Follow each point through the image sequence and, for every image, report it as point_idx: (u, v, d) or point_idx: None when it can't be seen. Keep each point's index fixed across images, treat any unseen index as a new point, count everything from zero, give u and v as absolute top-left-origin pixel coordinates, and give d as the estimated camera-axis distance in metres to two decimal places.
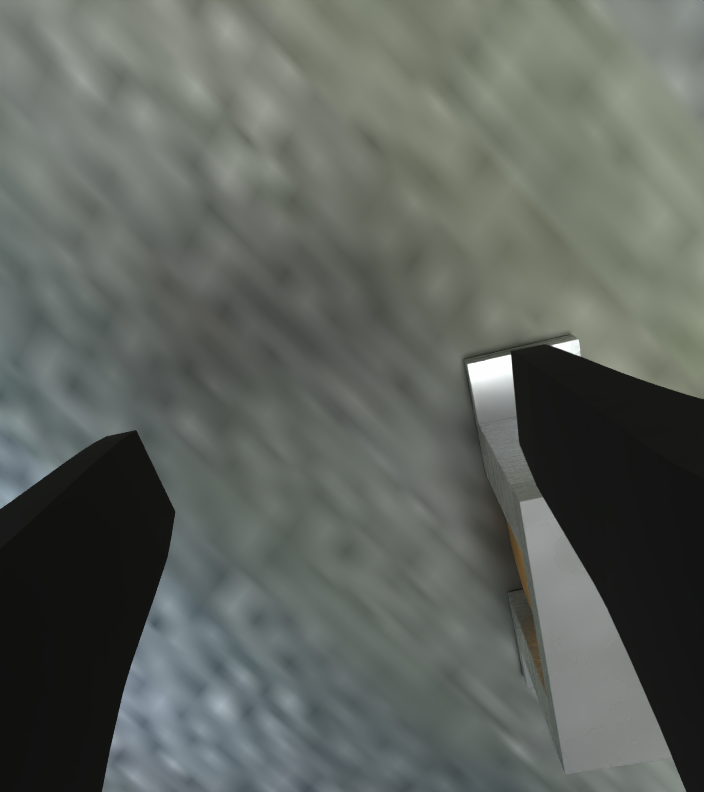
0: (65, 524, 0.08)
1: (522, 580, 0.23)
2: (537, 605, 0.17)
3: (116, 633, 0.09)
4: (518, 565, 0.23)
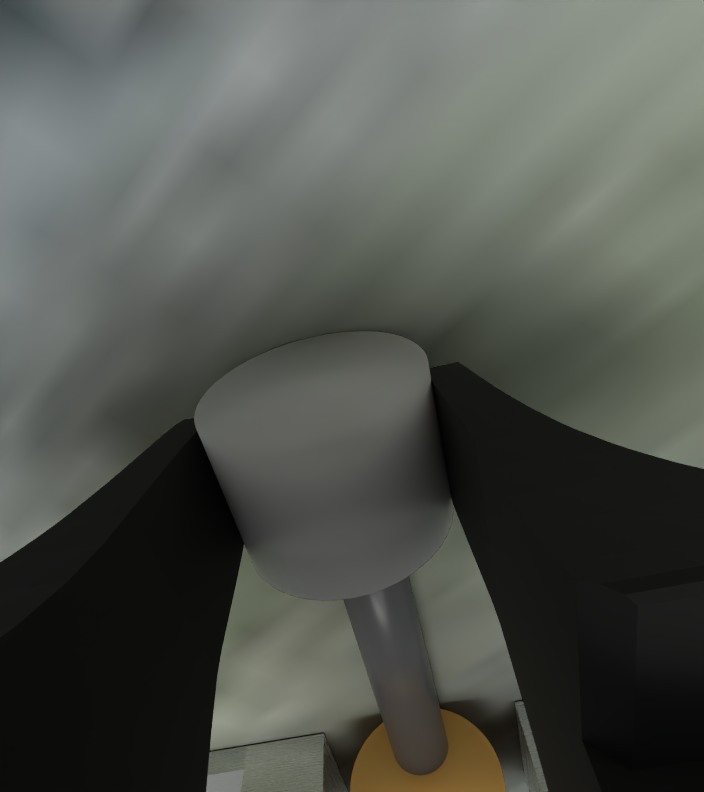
0: (165, 504, 0.08)
1: None
2: None
3: (209, 616, 0.09)
4: None
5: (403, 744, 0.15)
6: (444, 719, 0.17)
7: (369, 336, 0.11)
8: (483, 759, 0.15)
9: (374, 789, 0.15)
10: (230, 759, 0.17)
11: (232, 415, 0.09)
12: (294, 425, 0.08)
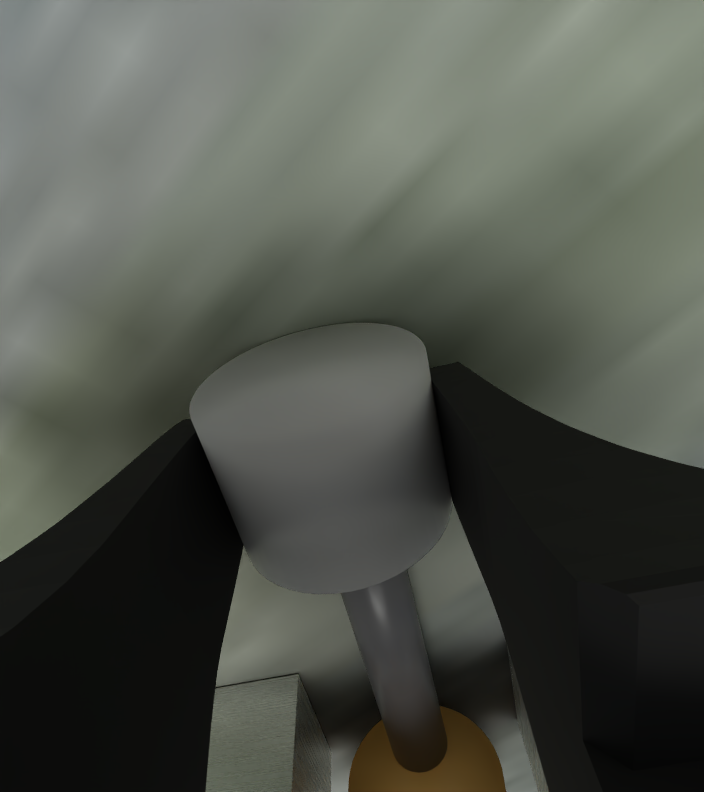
0: (165, 504, 0.08)
1: None
2: None
3: (208, 616, 0.09)
4: None
5: (401, 741, 0.15)
6: (443, 716, 0.16)
7: (367, 328, 0.10)
8: (483, 757, 0.15)
9: (372, 786, 0.15)
10: None
11: (228, 406, 0.09)
12: (290, 415, 0.08)
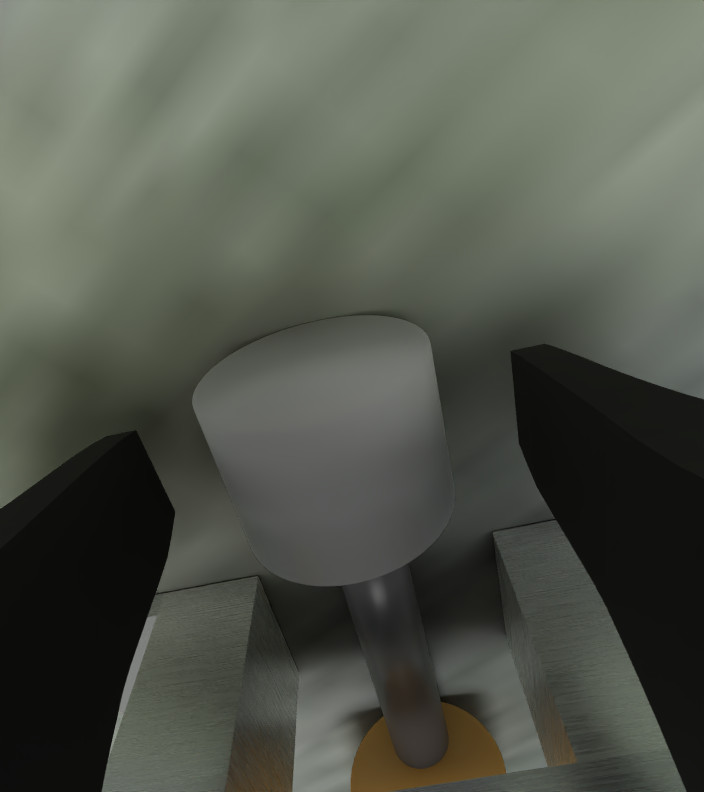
0: (65, 525, 0.08)
1: None
2: None
3: (116, 633, 0.09)
4: None
5: (403, 737, 0.15)
6: (444, 712, 0.16)
7: (368, 320, 0.10)
8: (484, 751, 0.15)
9: (375, 784, 0.15)
10: None
11: (232, 397, 0.09)
12: (296, 406, 0.08)
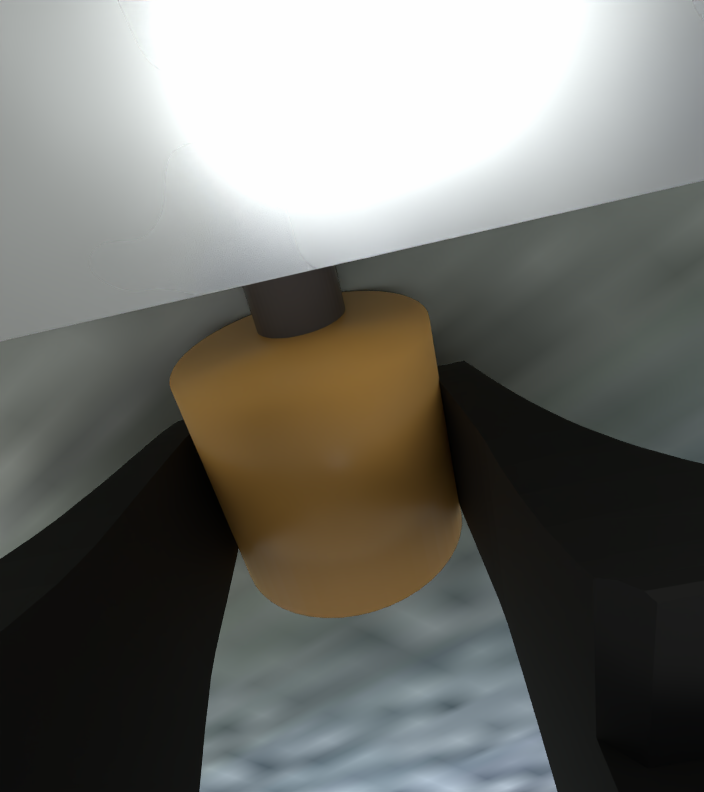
0: (159, 505, 0.08)
1: None
2: None
3: (203, 617, 0.09)
4: None
5: None
6: (345, 296, 0.10)
7: None
8: (398, 309, 0.09)
9: (213, 358, 0.09)
10: None
11: None
12: None
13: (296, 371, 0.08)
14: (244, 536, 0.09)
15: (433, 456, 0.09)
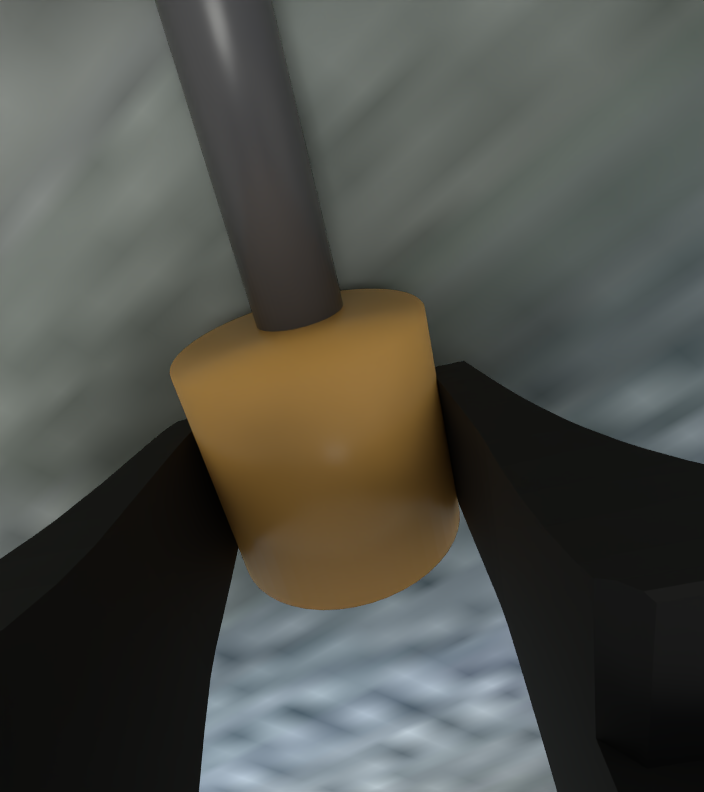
0: (158, 505, 0.08)
1: None
2: None
3: (202, 618, 0.09)
4: None
5: (253, 245, 0.09)
6: (343, 294, 0.10)
7: None
8: (395, 303, 0.09)
9: (213, 350, 0.09)
10: None
11: None
12: None
13: (294, 357, 0.08)
14: (242, 526, 0.09)
15: (430, 445, 0.09)
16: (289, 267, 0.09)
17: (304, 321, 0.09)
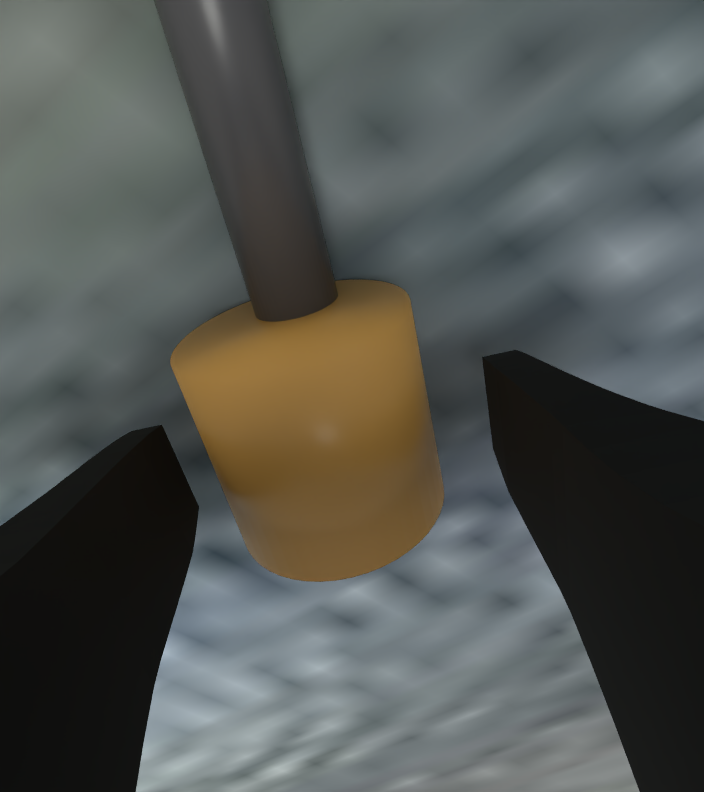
0: (98, 517, 0.08)
1: None
2: None
3: (147, 628, 0.09)
4: None
5: (249, 240, 0.09)
6: (340, 284, 0.11)
7: None
8: (384, 297, 0.10)
9: (213, 338, 0.10)
10: None
11: None
12: None
13: (281, 350, 0.09)
14: (235, 502, 0.10)
15: (411, 435, 0.09)
16: (283, 262, 0.09)
17: (297, 313, 0.10)
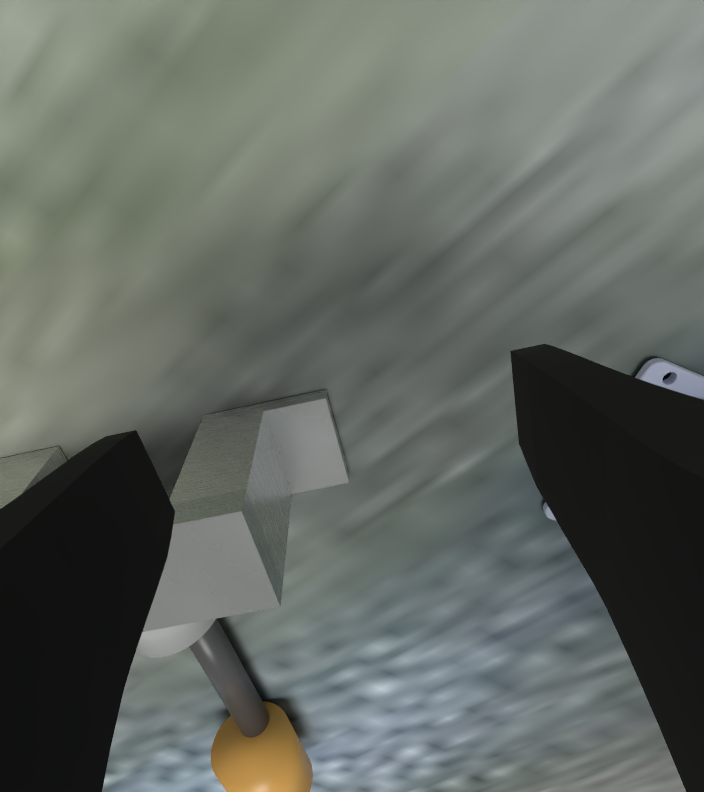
0: (65, 524, 0.08)
1: None
2: None
3: (116, 633, 0.09)
4: None
5: (235, 720, 0.28)
6: (271, 708, 0.30)
7: None
8: (282, 731, 0.28)
9: (225, 743, 0.29)
10: None
11: None
12: None
13: (245, 765, 0.27)
14: None
15: (289, 784, 0.28)
16: (247, 725, 0.28)
17: (253, 736, 0.28)
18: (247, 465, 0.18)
